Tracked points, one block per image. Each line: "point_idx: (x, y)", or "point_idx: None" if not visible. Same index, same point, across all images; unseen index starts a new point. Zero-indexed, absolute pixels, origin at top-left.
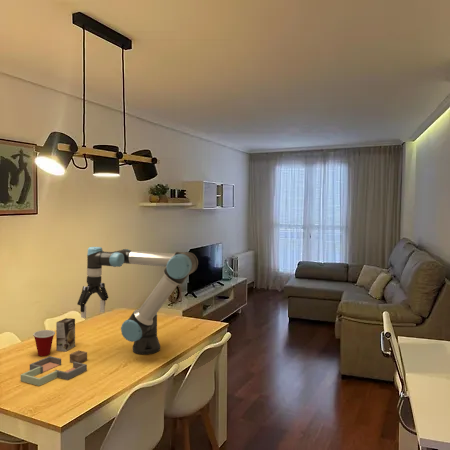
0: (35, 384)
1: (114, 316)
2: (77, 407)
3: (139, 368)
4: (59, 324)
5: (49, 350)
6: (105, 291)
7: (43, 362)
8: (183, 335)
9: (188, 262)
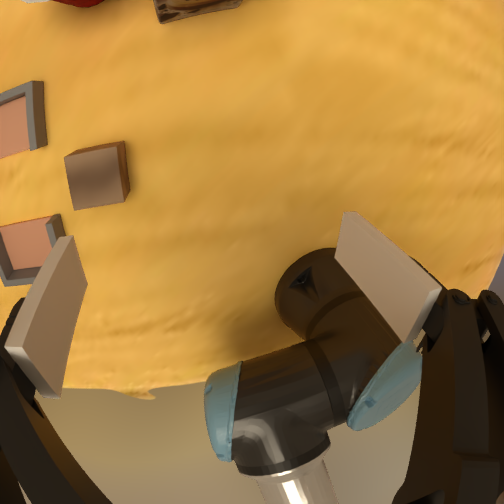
0: None
1: (501, 14)
2: None
3: (187, 361)
4: None
5: (90, 1)
6: (489, 420)
7: (6, 101)
8: None
9: None
